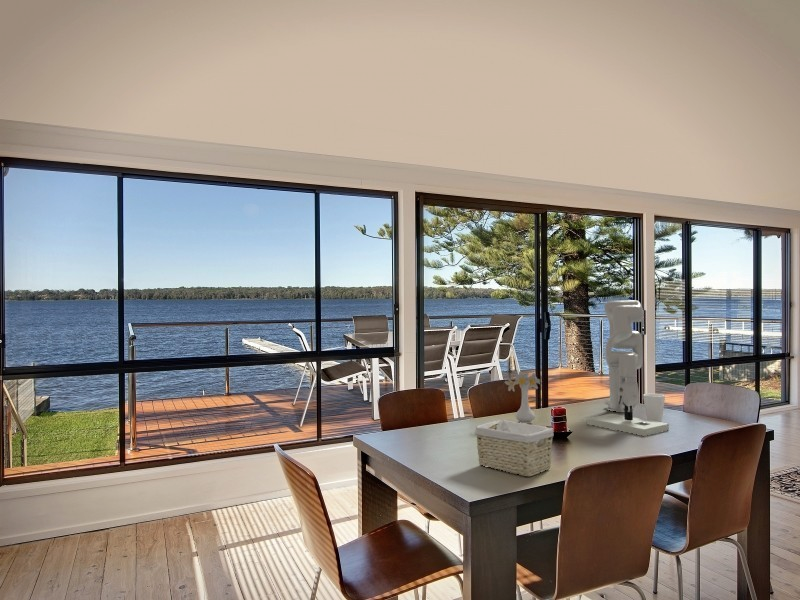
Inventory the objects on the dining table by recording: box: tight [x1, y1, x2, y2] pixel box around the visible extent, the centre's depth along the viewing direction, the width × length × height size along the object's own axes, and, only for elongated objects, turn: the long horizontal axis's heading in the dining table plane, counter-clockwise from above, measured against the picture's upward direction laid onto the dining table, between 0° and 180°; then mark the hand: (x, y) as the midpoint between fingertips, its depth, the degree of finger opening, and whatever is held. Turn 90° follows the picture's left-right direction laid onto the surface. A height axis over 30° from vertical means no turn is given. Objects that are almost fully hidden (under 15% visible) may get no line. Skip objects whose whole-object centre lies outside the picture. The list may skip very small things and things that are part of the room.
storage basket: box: [474, 419, 554, 477], centre depth 200 cm, size 24×16×15 cm
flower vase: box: [504, 370, 541, 424], centre depth 272 cm, size 13×18×25 cm
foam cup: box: [643, 392, 666, 423], centre depth 268 cm, size 10×9×13 cm
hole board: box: [586, 413, 670, 437], centre depth 258 cm, size 30×18×3 cm, turn 33°
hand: (628, 419), depth 258 cm, fingers closed
